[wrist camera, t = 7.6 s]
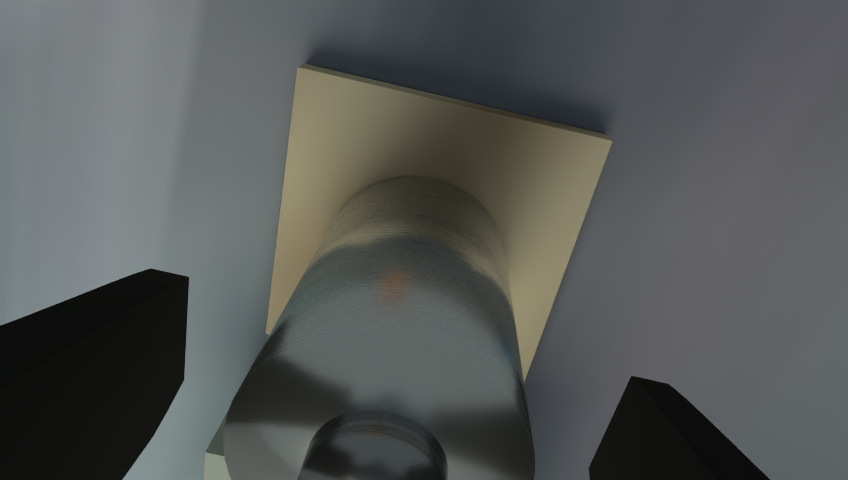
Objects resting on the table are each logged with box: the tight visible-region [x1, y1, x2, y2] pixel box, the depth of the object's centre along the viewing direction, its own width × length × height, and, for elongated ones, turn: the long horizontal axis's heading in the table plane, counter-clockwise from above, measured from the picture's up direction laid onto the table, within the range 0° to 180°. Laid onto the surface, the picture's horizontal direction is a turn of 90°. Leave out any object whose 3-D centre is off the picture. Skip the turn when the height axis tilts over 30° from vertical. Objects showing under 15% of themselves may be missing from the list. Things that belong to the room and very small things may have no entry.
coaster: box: [266, 64, 612, 382], centre depth 14 cm, size 7×7×1 cm
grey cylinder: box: [223, 175, 535, 480], centre depth 11 cm, size 4×4×7 cm
